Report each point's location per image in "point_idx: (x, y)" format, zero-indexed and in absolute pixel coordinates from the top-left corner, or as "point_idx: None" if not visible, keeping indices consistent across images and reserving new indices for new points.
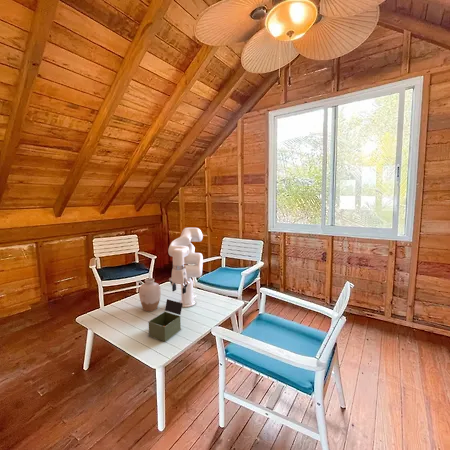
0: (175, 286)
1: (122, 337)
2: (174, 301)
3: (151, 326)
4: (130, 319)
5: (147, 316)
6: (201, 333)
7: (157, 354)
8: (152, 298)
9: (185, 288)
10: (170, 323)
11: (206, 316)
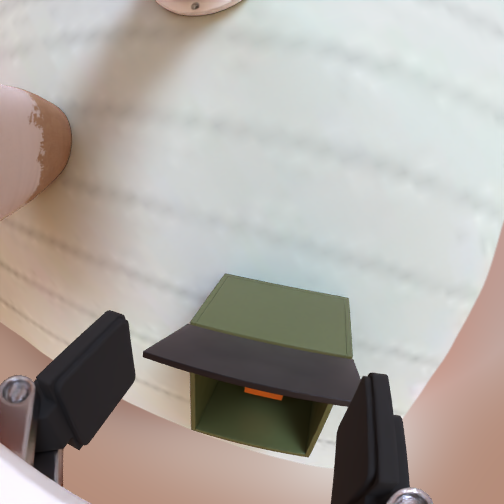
0: (84, 379)
1: (135, 390)
2: (251, 387)
3: (219, 420)
4: (55, 274)
5: (85, 224)
6: (475, 295)
7: (324, 446)
8: (10, 198)
9: (398, 489)
10: (321, 428)
11: (448, 86)
